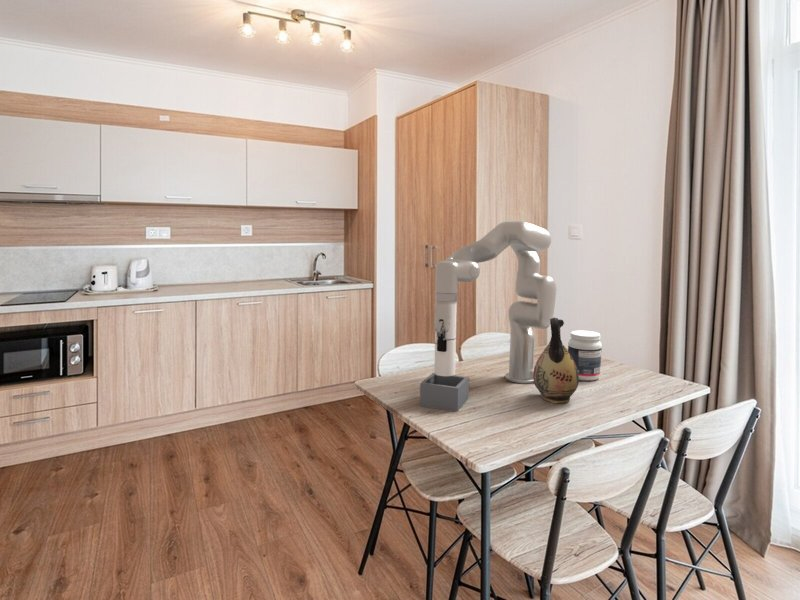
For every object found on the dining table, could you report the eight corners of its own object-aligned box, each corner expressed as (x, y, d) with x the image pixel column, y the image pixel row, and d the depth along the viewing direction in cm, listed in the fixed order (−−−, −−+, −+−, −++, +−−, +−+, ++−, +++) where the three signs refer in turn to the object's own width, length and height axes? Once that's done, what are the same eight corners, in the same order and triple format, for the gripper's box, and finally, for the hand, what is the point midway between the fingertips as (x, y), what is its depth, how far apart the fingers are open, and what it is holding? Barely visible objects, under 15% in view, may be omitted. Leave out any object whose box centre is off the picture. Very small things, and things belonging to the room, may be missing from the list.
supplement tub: (564, 371, 208) (566, 329, 205) (595, 373, 206) (598, 330, 203) (569, 380, 195) (572, 335, 193) (603, 382, 193) (606, 337, 191)
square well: (468, 398, 174) (468, 377, 173) (457, 411, 162) (458, 388, 161) (432, 393, 180) (433, 372, 179) (419, 405, 167) (420, 383, 166)
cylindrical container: (454, 376, 165) (455, 303, 162) (433, 375, 167) (434, 303, 163) (456, 371, 172) (457, 300, 169) (435, 369, 174) (437, 300, 170)
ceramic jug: (535, 389, 185) (538, 311, 180) (578, 395, 179) (583, 314, 174) (528, 404, 169) (532, 319, 165) (576, 411, 163) (581, 322, 159)
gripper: (443, 294, 175) (442, 342, 178) (427, 300, 159) (426, 353, 162) (464, 295, 172) (462, 344, 175) (449, 301, 156) (448, 355, 159)
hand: (445, 348), depth 168 cm, fingers closed on cylindrical container, 7 cm apart
